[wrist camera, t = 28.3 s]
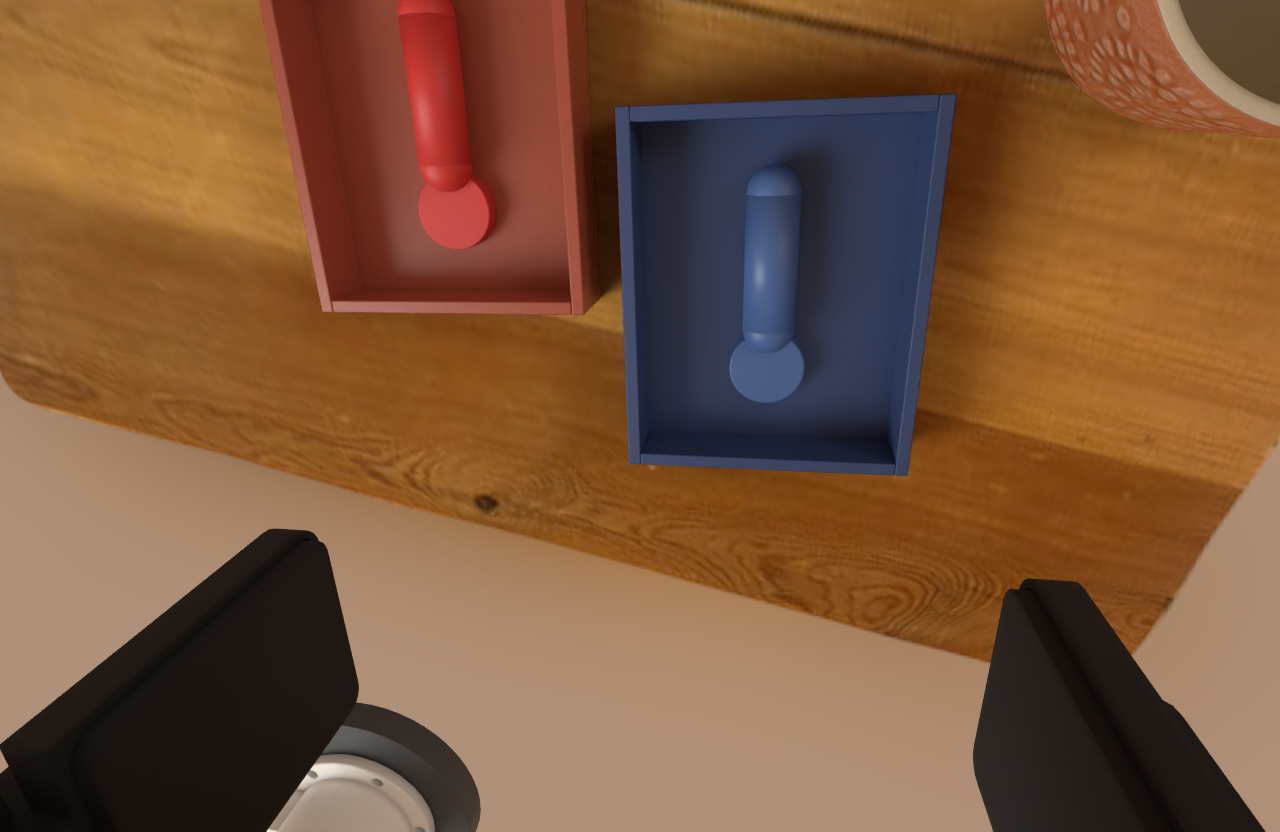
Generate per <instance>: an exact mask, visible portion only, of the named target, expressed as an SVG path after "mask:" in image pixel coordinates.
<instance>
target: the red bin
mask: <svg viewBox="0 0 1280 832" xmlns="http://www.w3.org/2000/svg"><path fill="white" fill-rule="evenodd" d="M399 1H400V0H259V3H260V8H261V13H262V18H263V23H264V28H265V33H266V38H267V42H268V47H269V52H270V57H271V62H272V67H273V72H274V77H275V82H276V86H277V91H278V96H279V101H280V106H281V111H282V116H283V121H284V126H285V130H286V135H287V140H288V145H289V150H290V155H291V160H292V165H293V170H294V174H295V179H296V184H297V189H298V194H299V199H300V204H301V209H302V214H303V218H304V223H305V228H306V233H307V238H308V243H309V248H310V253H311V258H312V262H313V267H314V272H315V277H316V282H317V287H318V292H319V297H320V302H321V306H322V311H323V312H361V313H456V314H550V315H571V314H573V315H584V314H585V313H586V312H587V311H588V310H589V309H590V308H591V307H592V306H593V305H594V304H595V303H596V302H597V301H598V300H599V299H600V282H599V262H598V243H597V224H596V204H595V185H594V165H593V146H592V126H591V107H590V87H589V68H588V48H587V29H586V9H585V0H450V2H451V4H452V6H453V8H454V11H455V16H456V24H457V33H458V42H459V51H460V60H461V68H462V77H463V86H464V95H465V104H466V113H467V122H468V131H469V139H470V148H471V157H472V175H474V176H476V177H478V178H479V179H480V180H481V181H483V182H484V184H485V185H486V186H487V187H488V189H489V190H490V192H491V194H492V196H493V198H494V201H495V205H496V222H495V226H494V228H493V230H492V232H491V234H490V235H489V237H488V238H487V239H486V240H484V241H483V242H482V243H480V244H478V245H476V246H473V247H471V248H468V249H464V250H454V249H449V248H446V247H444V246H442V245H440V244H439V243H437V242H436V241H435V240H433V239H432V238H431V237H430V236H429V234H428V233H427V232H426V230H425V228H424V227H423V225H422V222H421V219H420V216H419V209H418V203H419V197H420V193H421V191H422V189H423V187H424V185H425V184H426V183H427V182H426V181H425V180H424V178H423V177H422V175H421V172H420V169H419V163H418V156H417V149H416V142H415V135H414V128H413V120H412V113H411V106H410V99H409V92H408V85H407V78H406V70H405V63H404V56H403V49H402V42H401V35H400V28H399V21H398V5H399Z"/></svg>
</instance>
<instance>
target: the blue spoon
mask: <svg viewBox="0 0 1280 832" xmlns="http://www.w3.org/2000/svg"><path fill="white" fill-rule="evenodd" d="M801 204H802V186H801V182H800V180H799V178H798V176H797V175H796V173H795V172H794V171H793V170H791V169H790V168H788V167H786V166H783V165H778V164H773V165H768V166H765V167H763V168H761V169H759V170H758V171H757V172H756V173H755V174H754V175H753V176H752V178H751V179H750V181H749V183H748V186H747V191H746V217H745V254H744V291H743V334H744V336H743V337H742V338H741V339H740V340H739V341H738V342H737V343H736V345H735V346H734V348H733V350H732V353H731V357H730V363H729V373H730V377H731V380H732V382H733V384H734V386H735V388H736V389H737V390H738V391H739V392H740V393H741V394H742V395H743V396H745V397H746V398H748V399H750V400H753V401H756V402H760V403H772V402H777V401H780V400H783V399H785V398H787V397H788V396H790V395H791V394H792V393H793V392H794V391H795V390H796V389H797V388H798V387H799V385H800V383H801V381H802V379H803V376H804V371H805V363H804V357H803V353H802V350H801V348H800V346H799V344H798V343H797V341H796V340H795V339H794V338H793V334H794V329H795V311H796V293H797V276H798V258H799V240H800V222H801Z"/></svg>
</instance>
